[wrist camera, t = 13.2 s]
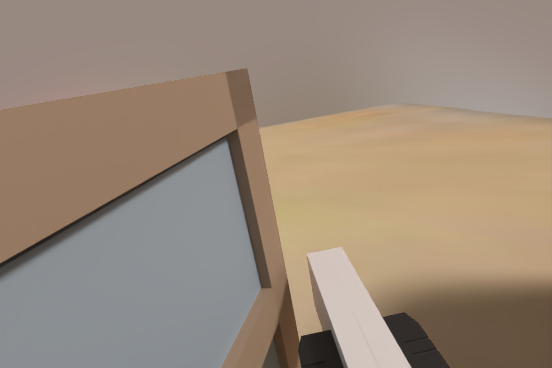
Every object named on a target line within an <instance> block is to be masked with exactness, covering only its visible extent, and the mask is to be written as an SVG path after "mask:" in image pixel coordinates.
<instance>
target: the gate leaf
mask: <svg viewBox="0 0 552 368" xmlns="http://www.w3.org/2000/svg"><path fill="white" fill-rule="evenodd" d="M299 344H300V342H299V337H298V332H297V326H296V321H295V316H294V311H293V305H292V300H291V295H290V290H289V284H288V279H287V274H286V269H285V263H284V258H283V253H282V248H281V242H280V237H279V232H278V227H277V222H276V216H275V211H274V206H273V201H272V195H271V190H270V185H269V180H268V174H267V169H266V164H265V159H264V153H263V148H262V143H261V138H260V133H259V127H258V122H257V117H256V112H255V106H254V101H253V96H252V91H251V85H250V80H249V75H248V70H247V68H246V69H240V70H234V71H228V72H223V73H217V74H211V75H205V76H199V77H193V78H187V79H181V80H175V81H169V82H163V83H157V84H151V85H145V86H139V87H134V88H128V89H121V90H116V91H110V92H104V93H98V94H92V95H86V96H80V97H74V98H68V99H62V100H56V101H50V102H44V103H39V104H33V105H27V106H20V107H15V108H9V109H3V110H0V368H301V364H300V359H299V354H298V348H299Z"/></svg>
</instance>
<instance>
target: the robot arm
mask: <svg viewBox="0 0 552 368" xmlns="http://www.w3.org/2000/svg"><path fill="white" fill-rule="evenodd" d="M307 259H308V266H309V272H310V278H311V285H312V291H313V297H314V304H315V308H316V311H317V314H318V317H319V320H320V323H321V326H322V329H323V331H322V332H318V333H313V334H309V335H304V336H301V340H300V344H299V348H298V354H299V359H300V364H301V368H450V367H449V366H448V364H447V363H446V361H445V360H444V358H443V357H442V356H441V354H440V353H439V351H437V349H436V347H435V346H434V344H433V343H432V342H431V340H430V339H429V338H428V336H427V334H426V333H425V332H424V330H423V329H422V327H421V326H420V325H419V323H418V322H416V321H415V320H414V319H412V318H411V317H410V316H408V315H407V314H405V313H399V314H395V315H390V316H386V317H382V316H381V314H380V313H379V311H378V309H377V307H376V306H375V304H374V302H373V300H372V299H371V297H370V295H369V294H368V292H367V290H366V288H365V287H364V285H363V283H362V281H361V280H360V278H359V276H358V275H357V273H356V271H355V269H354V268H353V266H352V264H351V262H350V261H349V259H348V257H347V255H346V254H345V252H344V250H343V249H342V247H338V248H333V249H328V250H324V251H319V252H314V253H309V254H307Z"/></svg>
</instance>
